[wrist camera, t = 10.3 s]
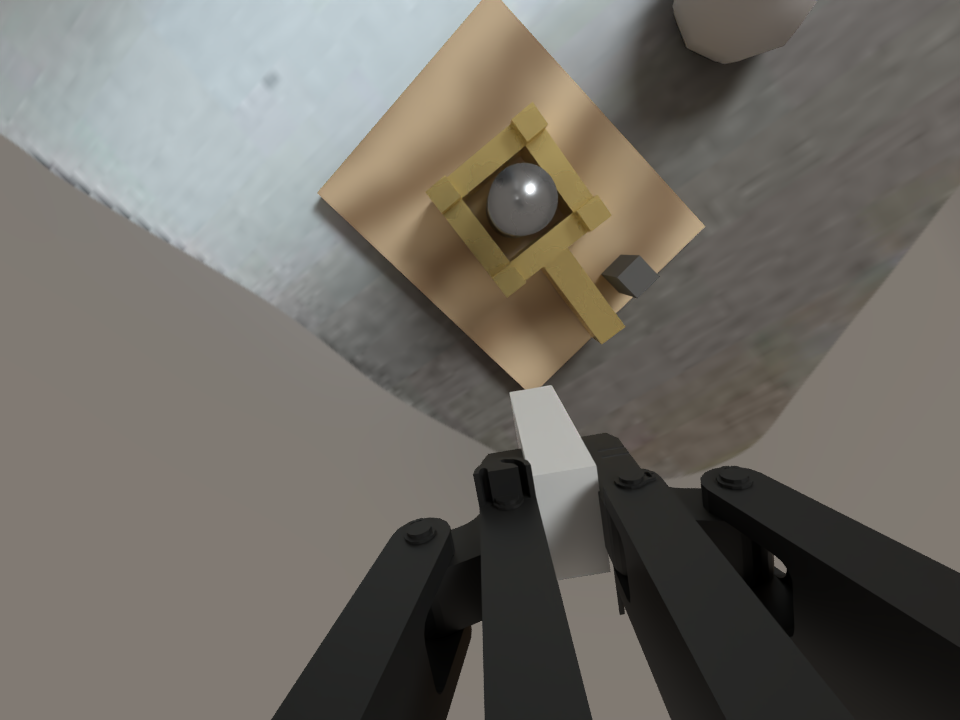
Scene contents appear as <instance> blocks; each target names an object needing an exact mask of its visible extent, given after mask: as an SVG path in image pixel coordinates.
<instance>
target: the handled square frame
mask: <svg viewBox="0 0 960 720" xmlns="http://www.w3.org/2000/svg"><path fill="white" fill-rule="evenodd" d="M547 125H548V123H547V122H546V120H545V119H544V117H543V116H542V115H541V113H540V112H539V110H538V109H537V107H536V106H535V105H534V103H533V102H531V103H530V104H529V105H528V106H527V107H526V108H524V109H523V110H522V111H521V112H520V113H518V114H517V115H516V116H515V117H514V118H512V119H511V123H510V125H509V126H507V127H506V128H505V129H504V130H503V131H501V132H500V133H499V134H498V135H497V136H495V137H494V138H493V139H492V140H491V141H489V142H488V143H487V144H486V145H485V146H484V147H482V148H481V149H480V150H479V151H478V152H476V153H475V154H474V155H473V156H472V157H470V158H469V159H468V160H467V161H466V162H464V163H463V164H462V165H461V166H460V167H459V168H457V169H456V170H455V171H454V172H453V173H451V174H450V175H449V176H448V177H446V176H444V177H442V178H441V179H440V180H439V181H438V182H436V183H435V184H434V185H433V186H432V187H430V188H429V189H428V190H427V191H426V192H425V193H426V194H427V195H428V196H429V198H430V199H431V200H432V202H433V203H434V204H435V205H436V207H437V208H438V209H439V211H440V212H441V213H442V214H443V216H444V217H445V218H446V219H447V221H448V222H449V223H450V225H451V226H452V227H453V228H454V230H455V231H456V232H457V234H458V235H459V236H460V237H461V239H462V240H463V241H464V243H465V244H466V245H467V247H468V248H469V249H470V250H471V252H472V253H473V254H474V256H475V257H476V258H477V259H478V261H479V262H480V263H481V265H482V266H483V267H484V269H485V270H486V271H487V272H488V274H489V275H490V276H491V278H492V279H493V280H494V282H495V283H496V284H497V286H498V287H499V288H500V289H501V291H502V292H503V293H504V295H505V296H506V297H509V296H510V295H511V294H513V293H514V292H515V291H516V290H518V289H519V288H520V287H521V286H523V285H524V284H525V283H526V280H527V279H528V278H530V277H531V276H532V275H533V274H535V273H536V272H537V271H539V270H540V269H541V270H542V272H543V273H544V274H545V276H546V277H547V278H548V280H549V281H550V282H551V284H552V285H553V286H554V288H555V289H556V290H557V292H558V293H559V294H560V296H561V297H562V298H563V300H564V301H565V302H566V304H567V305H568V306H569V308H570V309H571V310H572V312H573V313H574V314H575V316H576V317H577V318H578V320H579V321H580V322H581V324H582V325H583V326H584V328H585V329H586V330H587V332H588V333H589V334H590V336H591V337H593V338H594V339H595V340H597V341H598V342H599V343H601V344H603V343H604V342H606V341H607V340H608V339H610V338H611V337H612V336H614V335H615V334H616V333H618V332H619V331H620V330H622V329H623V328H624V327H625V326H624V324H623V323H622V321H621V320H620V319H619V317H618V316H617V315H616V313H615V312H614V311H613V309H612V308H611V306H610V305H609V304H608V302H607V301H606V300H605V298H604V297H603V295H602V294H601V293H600V291H599V290H598V289H597V287H596V286H595V284H594V283H593V282H592V280H591V279H590V278H589V276H588V275H587V273H586V272H585V271H584V269H583V268H582V267H581V265H580V264H579V263H578V261H577V260H576V258H575V257H574V256H573V254H572V253H571V252H570V250H569V249H568V247H569V246H570V245H572V244H573V243H574V242H575V241H577V240H578V239H579V238H581V237H582V236H583V235H584V234H586V233H587V232H592V231H593V230H594V229H595V228H597V227H598V226H599V225H601V224H602V223H603V222H604V221H606V220H607V219H608V218H609V217H611V216H612V215H611V213H610V212H609V210H608V209H607V207H606V206H605V205H604V203H603V202H602V200H601V199H600V197H599V196H598V195H595V196H592V194H591V193H590V191H589V190H588V189H587V187H586V186H585V184H584V183H583V181H582V180H581V179H580V177H579V176H578V174H577V173H576V171H575V170H574V169H573V167H572V166H571V164H570V163H569V161H568V160H567V159H566V157H565V156H564V154H563V153H562V152H561V150H560V149H559V147H558V146H557V144H556V143H555V142H554V140H553V139H552V137H551V136H550V134H549V133H548V132H547V130H546V127H547ZM520 156H521V157H522V159H523V160H524V162H525V163H530V164H534V165H537V166H539V167H541V168H542V169H544V170H545V171H546V172H547V173H548V174H549V175H550V176H551V178H552V179H553V181H554V183H555V185H556V188H557V193H558V204H557V207H558V209H559V210H560V211H561V213H562V214H563V217H562V218H560V219H559V220H558V221H557V222H555V223H554V224H553V225H552V226H550V227H549V228H548V229H547V230H545V231H544V232H543V233H542V234H540V235H539V236H538V237H536V238H535V239H534V240H533V241H531V242H530V243H529V244H528V245H526V246H525V247H524V248H523V249H521V250H520V251H519V252H518V253H516V254H515V255H514V256H513V257H511V258H510V259H509V260H508V259H507V257H506V256H505V255H504V254H503V252H502V251H501V250H500V248H499V247H498V246H497V244H496V243H495V242H494V240H493V239H492V238H491V236H490V235H489V234H488V232H487V231H486V230H485V229H484V227H483V226H482V225H481V223H480V222H479V221H478V219H477V218H476V217H475V215H474V214H473V213H472V211H471V210H470V209H469V207H468V206H467V205H466V204H465V201H466V200H468V199H469V198H470V197H471V196H472V195H474V194H475V193H476V192H477V191H478V190H480V189H481V188H482V187H483V186H484V185H486V184H487V183H488V182H489V181H490V180H492V179H493V178H494V177H495V176H497V175H498V174H499V173H500V172H501V171H502V170H504V169H505V168H506V167H507V166H509V165H510V164H511V163H512V162H513V161H515V160H516V159H517V158H518V157H520Z"/></svg>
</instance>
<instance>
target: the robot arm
mask: <svg viewBox="0 0 960 720" xmlns="http://www.w3.org/2000/svg"><path fill="white" fill-rule="evenodd" d="M509 393H510V398H511V404H512V410H513V416H514V422H515V428H516V434H517V440H518V446H519V449H515V450H509V451H503V452H497V453H491V454H488V455H487V456H486V458H485V459H484V460H483V461H482V464H481V465H480V466H478V467H477V468H476V469H475V471H474V474H473V476H474V481H475V486H476V491H477V497H478V502H479V507H480V514H479V515H478V516H477V517H476V518H475V519H474V520H472V521H470V522H469V523H467V524H465V525H463V526H461V527H458V528H455V529H452V530H451V529H450V526H449V524H448V523H447V522H446V521H444V520H442V519H440V518H424V519H423V518H420V519H416V520H415V521H411V522H409V523H407V524H406V525H404V526H402V527H401V528H399V529H398V530H397V531H396V532H395V533H394V534H393V535H392V537H391V538H390V540H389V541H388V543H387V544H386V546H385V547H384V549H383V551H382V552H381V553H380V555H379V556H378V558H377V560H376V561H375V563H374V564H373V566H372V567H371V569H370V570H369V572H368V573H367V575H366V576H365V578H364V580H363V581H362V582H361V584H360V585H359V587H358V588H357V590H356V591H355V593H354V595H353V596H352V598H351V599H350V601H349V602H348V604H347V605H346V607H345V608H344V610H343V612H342V613H341V614H340V616H339V617H338V619H337V620H336V622H335V623H334V625H333V626H332V628H331V629H330V631H329V633H328V634H327V636H326V637H325V639H324V640H323V642H322V643H321V645H320V646H319V648H318V649H317V651H316V653H315V654H314V655H313V657H312V658H311V660H310V662H309V663H308V664H307V666H306V668H305V669H304V671H303V672H302V674H301V675H300V677H299V678H298V680H297V681H296V683H295V684H294V686H293V687H292V689H291V690H290V692H289V693H288V695H287V697H286V698H285V700H284V701H283V703H282V704H281V706H280V707H279V709H278V710H277V712H276V713H275V715H274V716H273V718H272V719H271V720H446V718H447V715H448V712H449V709H450V705H451V702H452V699H453V696H454V692H455V689H456V685H457V682H458V679H459V676H460V673H461V669H462V666H463V663H464V659H465V656H466V653H467V649H468V646H469V643H470V640H471V632H472V631H471V630H472V629H471V625H473V624H475V623H478V622H480V621H482V626H483V668H484V705H485V706H484V708H485V720H592V716H591V712H590V708H589V705H588V701H587V696H586V693H585V689H584V685H583V681H582V677H581V673H580V669H579V665H578V661H577V657H576V653H575V649H574V645H573V642H572V637H571V634H570V629H569V625H568V621H567V618H566V613H565V609H564V606H563V601H562V597H561V593H560V589H559V585H558V582H557V580H563V579H569V578H575V577H581V576H588V575H594V574H600V573H606V572H610V565H609V558H608V554H609V557H610V559H611V561H612V563H613V567H614V575H615V582H616V590H617V597H618V605H619V612H620V615H622V614H625V611H624V606H625V609H626V611H627V614H628V616H629V619H630V621H631V623H632V625H633V628H634V630H635V633H636V635H637V638H638V640H639V643H640V645H641V647H642V650H643V652H644V655H645V657H646V660H647V662H648V665H649V667H650V669H651V672H652V674H653V677H654V679H655V682H656V684H657V686H658V689H659V691H660V694H661V696H662V698H663V701H664V703H665V706H666V708H667V711H668V713H669V715H670V718H671V720H960V573H958V572H957V571H955V570H953V569H951V568H949V567H947V566H945V565H943V564H941V563H939V562H936V561H935V560H932V559H931V558H929V557H927V556H925V555H923V554H921V553H919V552H917V551H915V550H913V549H911V548H909V547H907V546H905V545H903V544H901V543H899V542H897V541H895V540H893V539H891V538H889V537H887V536H885V535H883V534H881V533H879V532H877V531H875V530H873V529H871V528H869V527H867V526H865V525H863V524H861V523H859V522H857V521H855V520H853V519H851V518H849V517H847V516H845V515H843V514H841V513H839V512H837V511H835V510H833V509H831V508H829V507H827V506H825V505H823V504H821V503H819V502H818V501H816V500H814V499H812V498H809V497H807V496H806V495H804V494H801V493H800V492H798V491H796V490H794V489H792V488H790V487H788V486H786V485H784V484H782V483H780V482H778V481H776V480H774V479H772V478H770V477H767V476H766V475H764V474H762V473H760V472H757V471H754V470H751V469H747V468H741V467H738V466H731V467H729V466H723V467H721V468H715V469H712V470H709V471H707V472H705V473H704V474H703V475H702V477H701V489H698V488H691V489H690V488H672V487H668V485H667V484H666V483H665V482H664V480H663V479H662V478H661V477H660V476H659V475H658V474H656V473H655V472H653V471H650V470H647V469H641V468H640V467H639V465H638V464H637V463H636V461H635V460H634V459H633V457H632V456H631V455H630V454H629V452H628V451H627V449H626V448H625V447H624V445H623V444H622V443H621V441H620V440H619V439H618V438H617V437H614V436H612V435H610V434H608V433H602V434H596V435H590V436H584V437H580V435H579V433H578V432H577V430H576V428H575V426H574V424H573V423H572V421H571V419H570V417H569V415H568V414H567V412H566V410H565V408H564V406H563V405H562V403H561V401H560V399H559V397H558V396H557V394H556V392H555V390H554V388H553V387H552V385H549V386H543V387H537V388H531V389H526V390H520V391H514V392H509ZM774 555H775V556H776V557H777V558H778V559H780V560H781V561H782V562H783V564H784V565H785V566H786V568H787V572H786V574H785V573H783V572H782V571H780V570H779V569H777V568H776V567H775V566H774Z"/></svg>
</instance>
